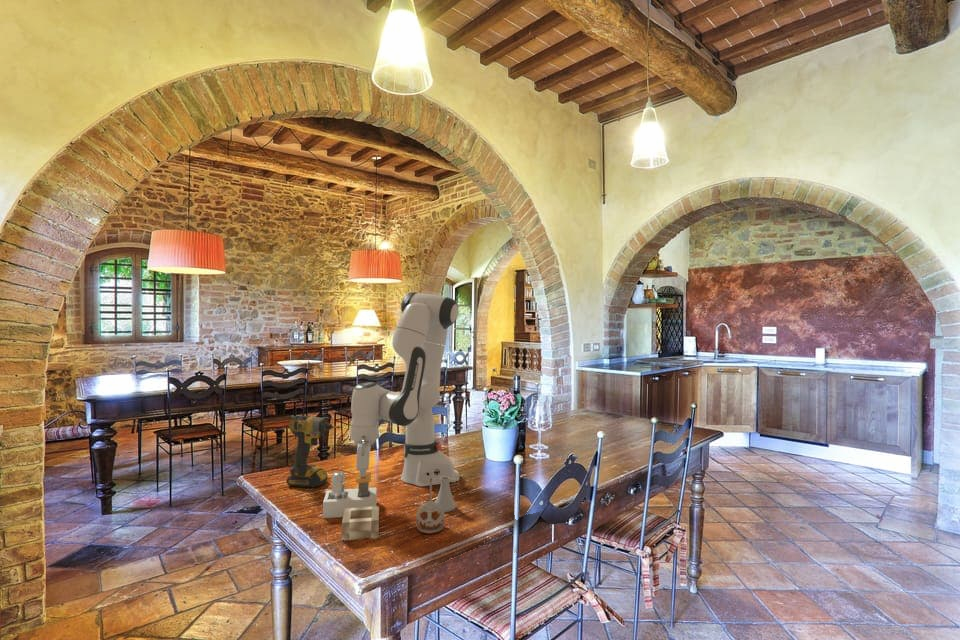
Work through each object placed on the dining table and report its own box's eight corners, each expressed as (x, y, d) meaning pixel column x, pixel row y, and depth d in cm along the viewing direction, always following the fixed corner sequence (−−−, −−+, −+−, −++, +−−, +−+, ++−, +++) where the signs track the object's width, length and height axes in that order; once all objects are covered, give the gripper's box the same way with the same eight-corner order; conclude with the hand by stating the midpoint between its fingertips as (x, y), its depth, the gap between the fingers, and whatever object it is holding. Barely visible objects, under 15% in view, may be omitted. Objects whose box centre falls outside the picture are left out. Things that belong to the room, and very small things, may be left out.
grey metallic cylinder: (344, 507, 153) (345, 471, 153) (343, 512, 149) (344, 475, 149) (332, 508, 153) (332, 471, 152) (330, 513, 149) (331, 476, 149)
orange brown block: (370, 493, 156) (371, 472, 156) (370, 500, 150) (370, 478, 150) (357, 494, 155) (357, 472, 155) (356, 501, 149) (356, 479, 149)
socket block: (376, 502, 158) (376, 487, 158) (375, 514, 148) (376, 498, 148) (326, 505, 155) (326, 490, 155) (322, 518, 145) (323, 502, 145)
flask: (447, 514, 149) (447, 483, 149) (429, 509, 153) (429, 479, 153) (460, 507, 155) (460, 476, 155) (442, 502, 159) (442, 472, 159)
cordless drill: (332, 491, 168) (333, 421, 168) (282, 486, 172) (282, 418, 172) (344, 482, 177) (345, 416, 177) (296, 478, 181) (297, 413, 181)
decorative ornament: (415, 534, 135) (416, 482, 135) (419, 523, 143) (419, 473, 143) (442, 535, 135) (443, 483, 135) (444, 523, 143) (445, 474, 143)
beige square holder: (378, 522, 143) (379, 506, 143) (378, 537, 133) (378, 520, 133) (344, 525, 141) (344, 508, 141) (341, 540, 131) (341, 522, 131)
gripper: (373, 441, 143) (372, 486, 143) (374, 425, 163) (373, 465, 163) (352, 441, 141) (350, 487, 141) (355, 426, 161) (354, 466, 161)
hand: (362, 475), depth 152 cm, fingers closed, pressing on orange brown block
